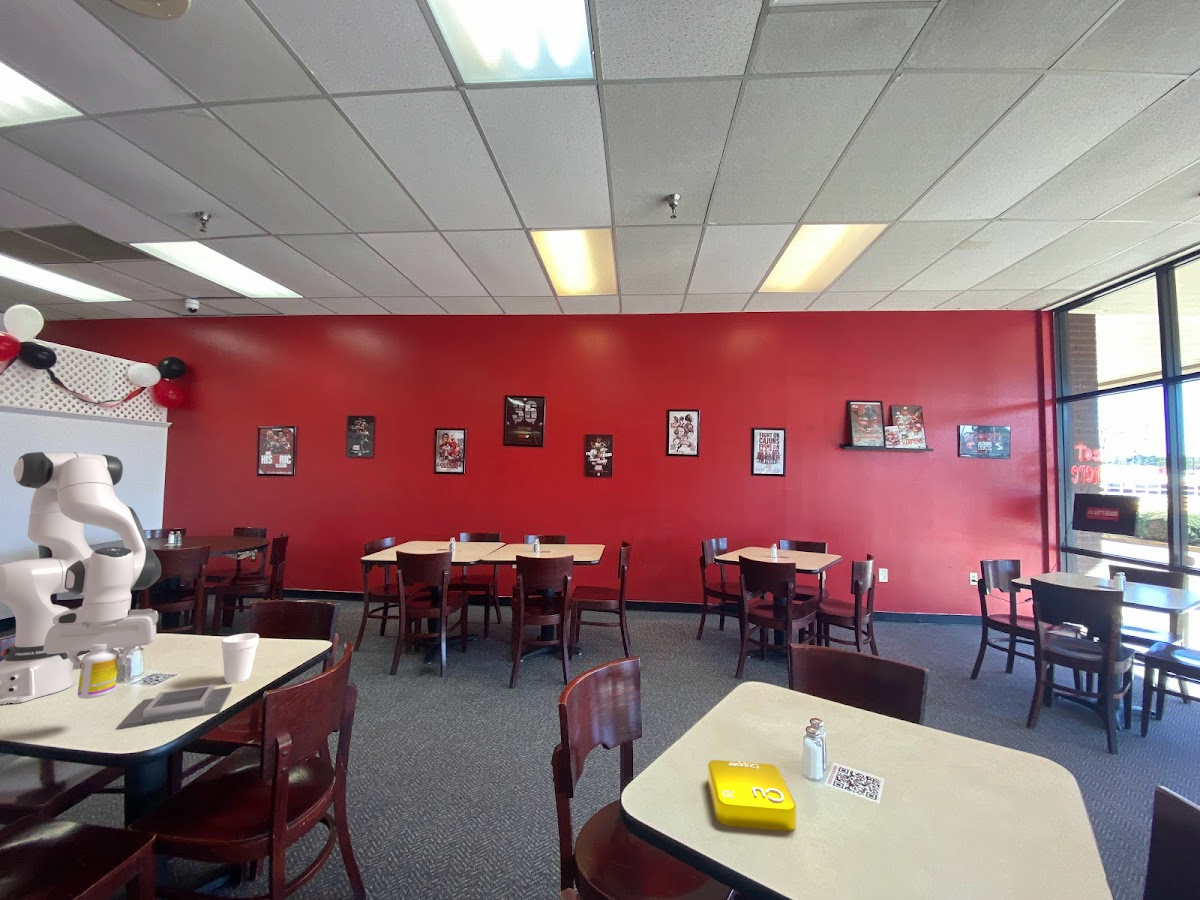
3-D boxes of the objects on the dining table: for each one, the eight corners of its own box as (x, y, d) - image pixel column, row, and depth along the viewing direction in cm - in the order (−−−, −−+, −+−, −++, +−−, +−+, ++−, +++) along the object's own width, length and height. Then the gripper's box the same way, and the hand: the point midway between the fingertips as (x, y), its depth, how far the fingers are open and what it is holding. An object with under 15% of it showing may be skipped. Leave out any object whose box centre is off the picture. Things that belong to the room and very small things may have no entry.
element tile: (776, 784, 102) (776, 761, 102) (799, 834, 87) (798, 807, 87) (706, 778, 103) (706, 756, 104) (717, 827, 88) (717, 800, 89)
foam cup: (216, 687, 143) (220, 644, 144) (220, 677, 151) (223, 636, 152) (254, 681, 149) (258, 639, 150) (256, 671, 156) (259, 631, 157)
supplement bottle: (122, 688, 123) (128, 638, 124) (96, 700, 117) (102, 647, 118) (96, 688, 123) (102, 638, 124) (68, 699, 117) (75, 646, 118)
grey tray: (119, 729, 118) (120, 716, 119) (143, 703, 132) (144, 692, 133) (219, 712, 128) (220, 701, 128) (231, 690, 142) (232, 679, 142)
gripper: (163, 605, 129) (157, 656, 128) (57, 611, 120) (50, 667, 119) (155, 610, 124) (149, 664, 123) (43, 618, 114) (36, 676, 113)
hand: (99, 666), depth 121 cm, fingers closed on supplement bottle, 7 cm apart
